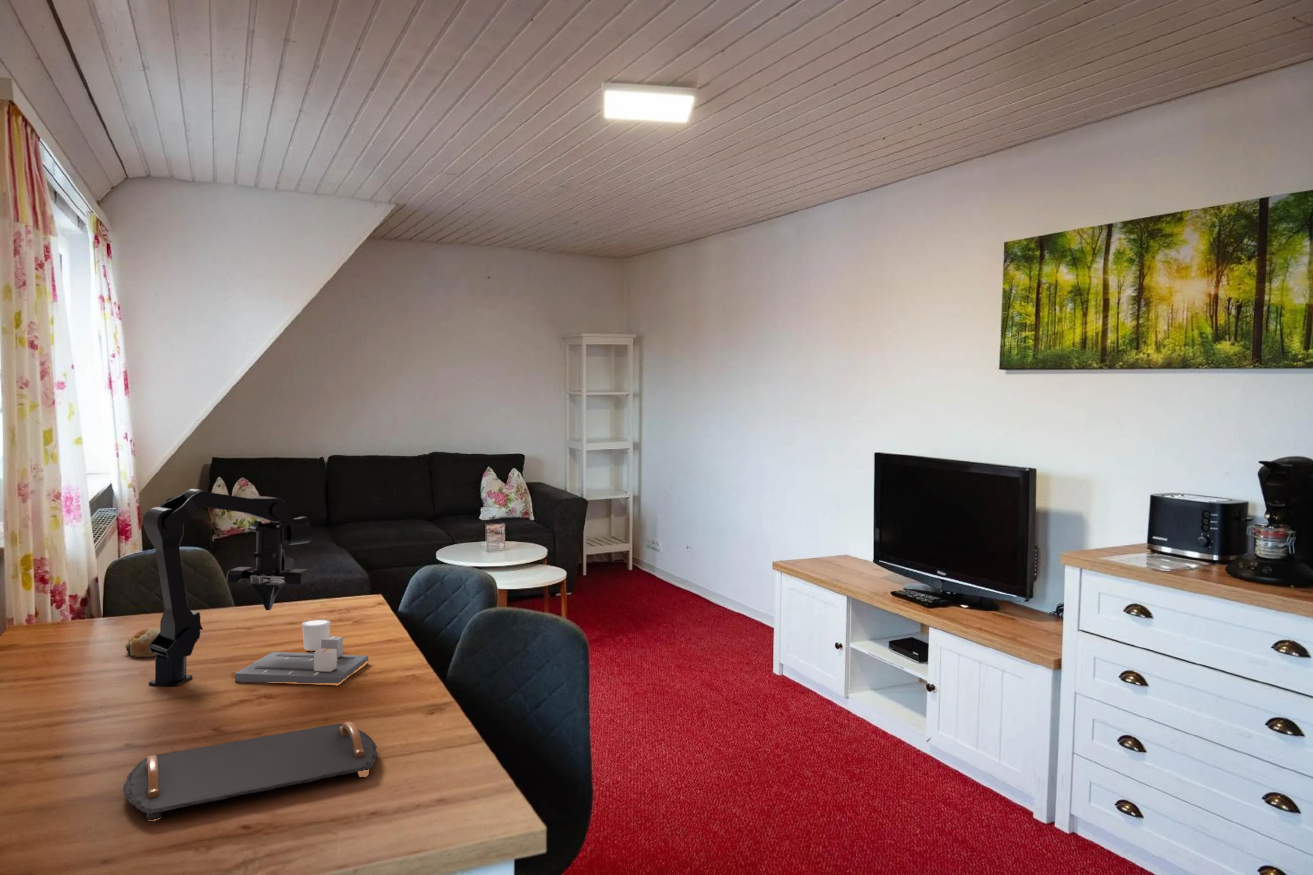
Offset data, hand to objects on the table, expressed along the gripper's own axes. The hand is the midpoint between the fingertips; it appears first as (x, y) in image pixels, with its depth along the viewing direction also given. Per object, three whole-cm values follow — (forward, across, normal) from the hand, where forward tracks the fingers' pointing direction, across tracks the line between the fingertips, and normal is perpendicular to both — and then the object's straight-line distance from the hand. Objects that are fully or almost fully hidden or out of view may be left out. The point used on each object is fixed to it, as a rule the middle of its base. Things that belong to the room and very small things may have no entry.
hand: (268, 609), depth 208 cm
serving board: (+13, -32, +64) cm, 73 cm away
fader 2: (+10, -21, +14) cm, 27 cm away
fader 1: (+10, -18, +4) cm, 21 cm away
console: (+12, -14, +10) cm, 21 cm away
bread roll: (+12, +31, -1) cm, 33 cm away
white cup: (+12, -8, -9) cm, 17 cm away
